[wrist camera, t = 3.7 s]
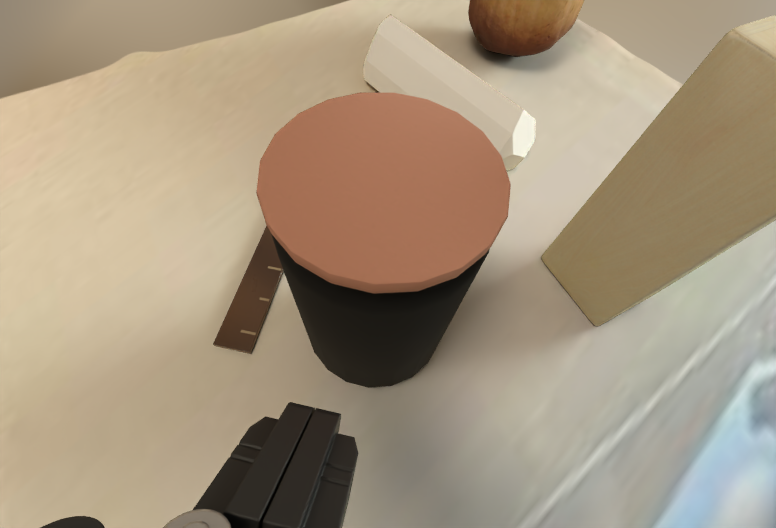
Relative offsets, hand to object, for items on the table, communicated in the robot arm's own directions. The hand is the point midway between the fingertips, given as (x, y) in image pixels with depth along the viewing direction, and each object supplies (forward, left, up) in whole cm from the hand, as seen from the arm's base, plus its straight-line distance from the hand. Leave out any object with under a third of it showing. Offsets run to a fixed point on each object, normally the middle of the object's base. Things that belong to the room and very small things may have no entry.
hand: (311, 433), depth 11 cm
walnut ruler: (+16, +5, -18) cm, 25 cm away
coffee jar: (+10, -4, -18) cm, 21 cm away
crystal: (+35, -15, -18) cm, 42 cm away
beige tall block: (+12, -25, -18) cm, 33 cm away
